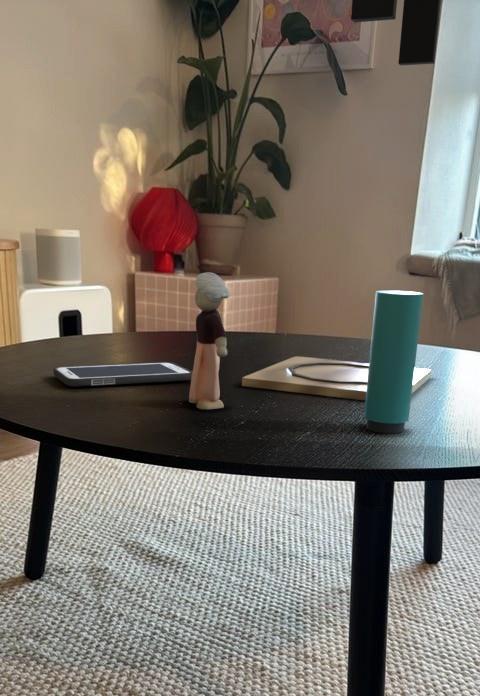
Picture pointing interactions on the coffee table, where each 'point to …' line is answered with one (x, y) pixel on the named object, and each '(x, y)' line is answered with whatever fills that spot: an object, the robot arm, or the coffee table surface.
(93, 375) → the cell phone
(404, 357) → the cylinder
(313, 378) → the board
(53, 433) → the coffee table surface
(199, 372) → the grandmother figurine
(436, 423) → the coffee table surface
